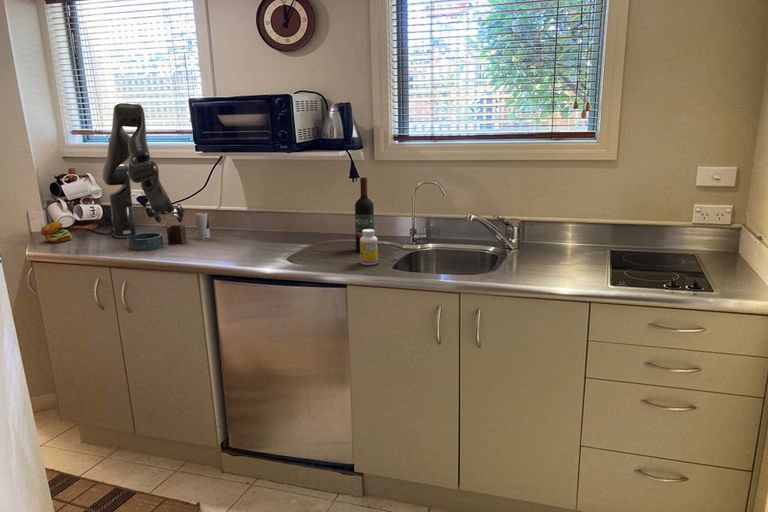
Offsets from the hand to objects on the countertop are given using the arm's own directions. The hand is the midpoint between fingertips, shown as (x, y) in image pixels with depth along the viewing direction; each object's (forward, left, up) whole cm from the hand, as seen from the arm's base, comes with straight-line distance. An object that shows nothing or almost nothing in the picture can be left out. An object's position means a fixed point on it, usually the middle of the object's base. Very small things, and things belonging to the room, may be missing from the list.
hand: (170, 220), depth 240 cm
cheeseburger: (-57, -19, -12) cm, 61 cm away
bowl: (-9, -7, -12) cm, 16 cm away
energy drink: (-1, +17, -12) cm, 21 cm away
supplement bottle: (+86, +22, -12) cm, 90 cm away
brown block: (-4, +5, -12) cm, 13 cm away
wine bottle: (+73, +38, -12) cm, 83 cm away
